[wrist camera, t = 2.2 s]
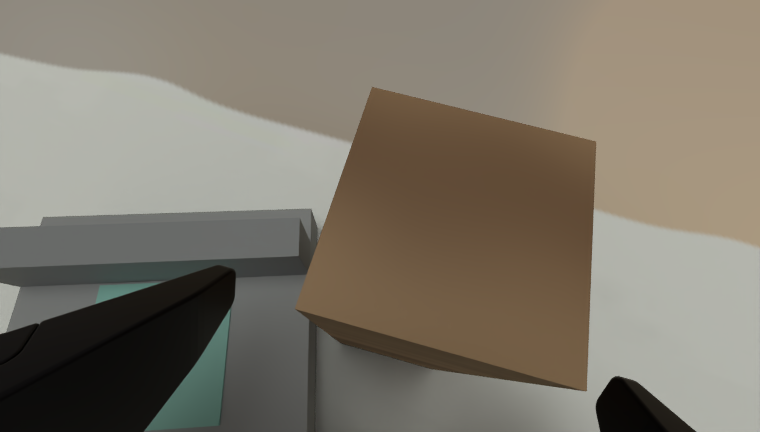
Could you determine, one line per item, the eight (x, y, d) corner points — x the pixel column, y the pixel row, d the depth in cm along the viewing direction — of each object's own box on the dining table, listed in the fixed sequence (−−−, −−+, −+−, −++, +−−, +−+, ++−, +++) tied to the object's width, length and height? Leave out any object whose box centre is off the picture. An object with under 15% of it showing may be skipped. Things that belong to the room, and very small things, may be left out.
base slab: (313, 499, 15) (288, 573, 10) (5, 525, 14) (-200, 619, 9) (317, 226, 19) (301, 178, 14) (83, 235, 18) (-24, 187, 13)
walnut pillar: (432, 369, 17) (586, 391, 5) (340, 342, 17) (294, 308, 5) (449, 277, 18) (596, 141, 7) (366, 255, 19) (372, 86, 7)
